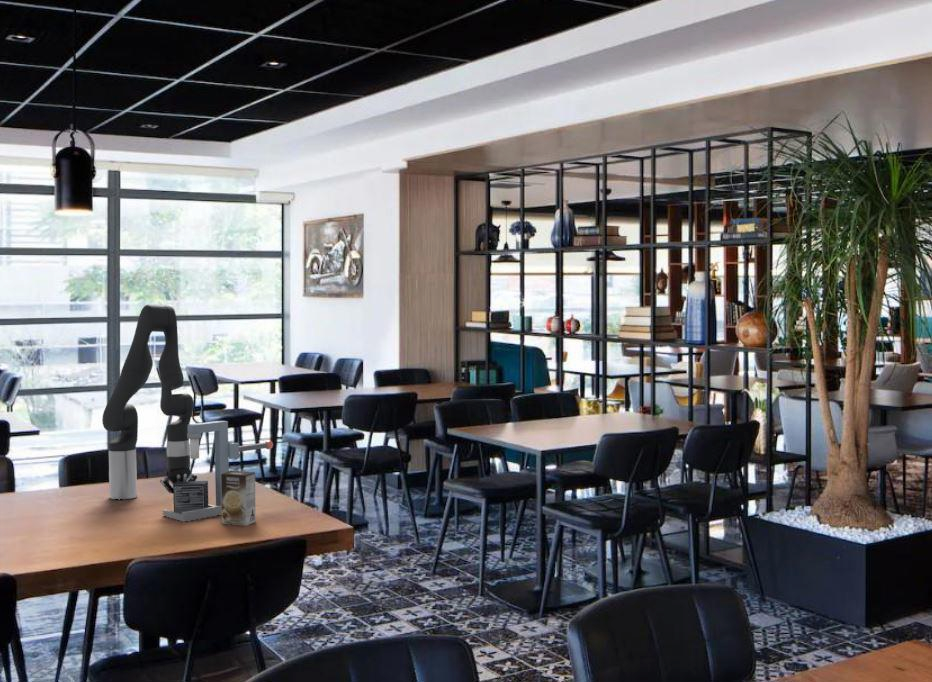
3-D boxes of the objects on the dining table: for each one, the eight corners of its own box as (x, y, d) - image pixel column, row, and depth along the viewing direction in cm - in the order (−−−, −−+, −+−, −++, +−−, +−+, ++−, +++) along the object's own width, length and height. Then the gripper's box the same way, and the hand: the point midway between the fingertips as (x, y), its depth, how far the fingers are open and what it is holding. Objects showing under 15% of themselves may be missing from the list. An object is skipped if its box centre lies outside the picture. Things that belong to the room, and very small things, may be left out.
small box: (209, 511, 340) (208, 479, 340) (206, 515, 334) (205, 483, 333) (177, 512, 339) (176, 480, 339) (173, 516, 333) (172, 484, 332)
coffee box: (220, 524, 321) (219, 473, 320) (231, 519, 327) (230, 470, 326) (246, 526, 318) (245, 475, 317) (256, 521, 324) (255, 471, 323)
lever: (274, 449, 353) (274, 440, 352) (229, 455, 340) (229, 446, 340) (269, 448, 355) (269, 439, 355) (225, 454, 342) (224, 445, 342)
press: (162, 516, 334) (160, 424, 332) (223, 505, 350) (221, 418, 348) (183, 522, 324) (181, 428, 323) (244, 510, 340) (243, 421, 339)
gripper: (190, 450, 347) (191, 500, 348) (154, 454, 338) (155, 506, 339) (201, 452, 342) (202, 503, 343) (165, 457, 332) (166, 510, 333)
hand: (179, 505), depth 341 cm, fingers closed
